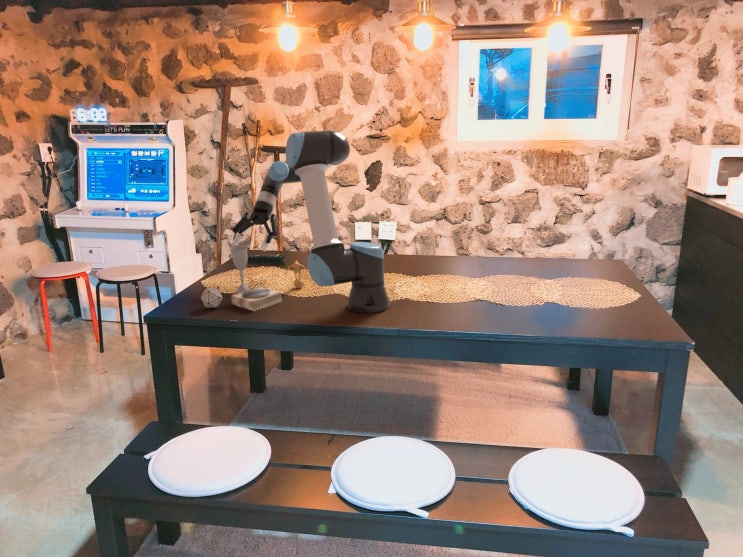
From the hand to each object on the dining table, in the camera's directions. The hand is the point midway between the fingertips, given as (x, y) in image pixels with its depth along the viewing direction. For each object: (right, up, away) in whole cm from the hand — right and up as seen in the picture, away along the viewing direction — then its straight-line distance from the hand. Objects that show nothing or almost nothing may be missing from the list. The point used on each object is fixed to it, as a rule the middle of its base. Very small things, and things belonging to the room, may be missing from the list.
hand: (248, 248), depth 238 cm
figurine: (+20, -16, -1) cm, 26 cm away
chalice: (-2, -17, -2) cm, 17 cm away
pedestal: (+7, -21, -17) cm, 28 cm away
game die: (-9, -23, -21) cm, 32 cm away
